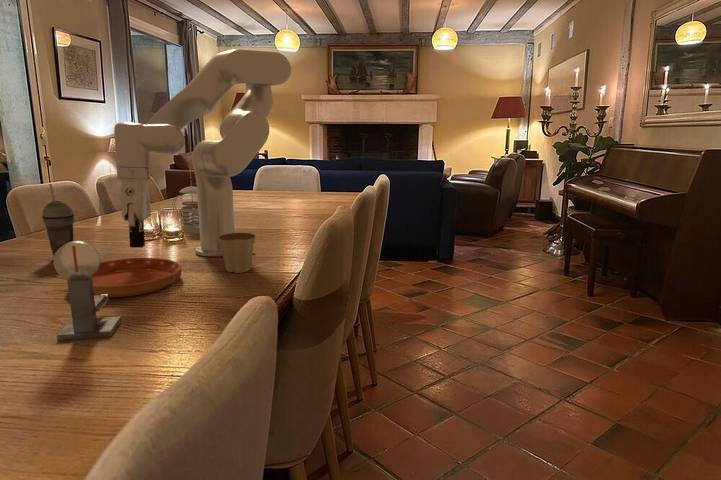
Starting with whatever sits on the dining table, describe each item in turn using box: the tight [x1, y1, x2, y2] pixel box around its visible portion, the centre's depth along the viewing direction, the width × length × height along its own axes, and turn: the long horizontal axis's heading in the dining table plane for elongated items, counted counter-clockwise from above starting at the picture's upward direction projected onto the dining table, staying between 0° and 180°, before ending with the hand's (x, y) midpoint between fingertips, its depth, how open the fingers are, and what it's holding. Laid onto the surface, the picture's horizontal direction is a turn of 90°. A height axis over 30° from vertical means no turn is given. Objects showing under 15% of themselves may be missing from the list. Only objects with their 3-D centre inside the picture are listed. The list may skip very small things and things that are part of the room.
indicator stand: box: [52, 240, 122, 342], centre depth 81 cm, size 8×8×16 cm
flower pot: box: [217, 232, 257, 274], centre depth 118 cm, size 9×9×9 cm
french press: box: [171, 157, 200, 234], centre depth 164 cm, size 10×12×25 cm
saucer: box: [66, 257, 182, 298], centre depth 106 cm, size 23×23×4 cm
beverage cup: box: [41, 183, 75, 258], centre depth 125 cm, size 7×7×20 cm
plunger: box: [97, 294, 110, 312], centre depth 87 cm, size 1×6×1 cm, turn 13°
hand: (137, 246), depth 121 cm, fingers closed
